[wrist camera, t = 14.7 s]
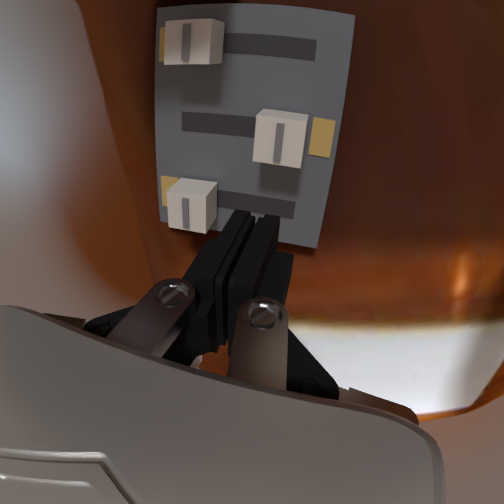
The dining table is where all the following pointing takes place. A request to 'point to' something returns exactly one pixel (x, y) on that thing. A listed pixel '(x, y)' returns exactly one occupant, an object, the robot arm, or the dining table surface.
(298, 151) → the switch
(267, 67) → the switch unit
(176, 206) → the switch
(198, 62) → the switch
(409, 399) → the dining table surface
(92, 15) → the dining table surface
